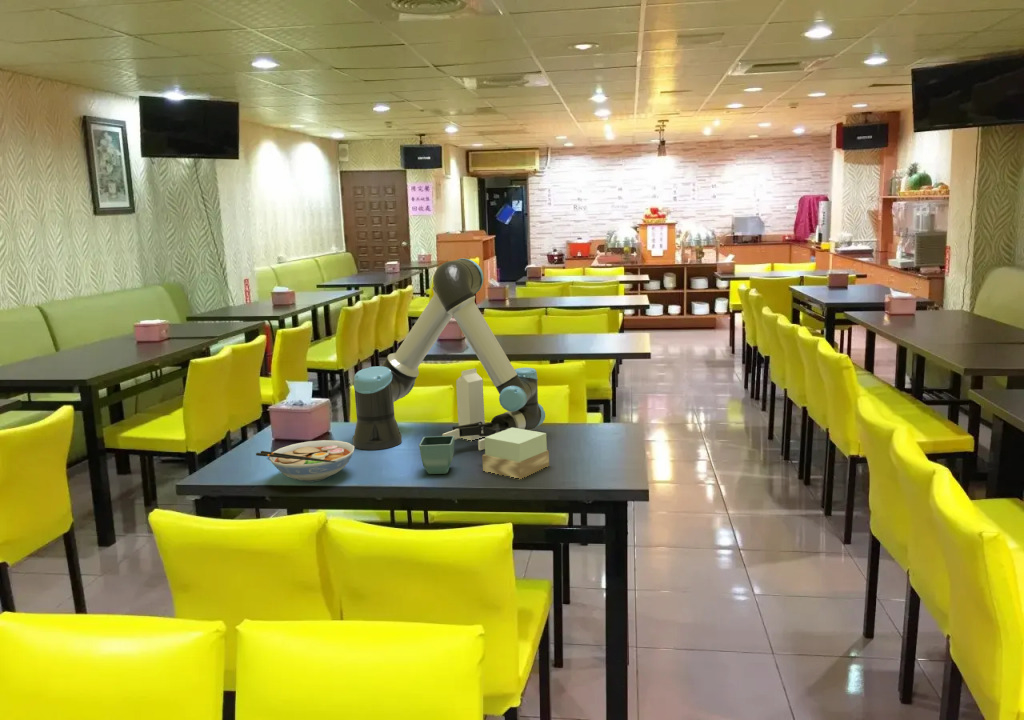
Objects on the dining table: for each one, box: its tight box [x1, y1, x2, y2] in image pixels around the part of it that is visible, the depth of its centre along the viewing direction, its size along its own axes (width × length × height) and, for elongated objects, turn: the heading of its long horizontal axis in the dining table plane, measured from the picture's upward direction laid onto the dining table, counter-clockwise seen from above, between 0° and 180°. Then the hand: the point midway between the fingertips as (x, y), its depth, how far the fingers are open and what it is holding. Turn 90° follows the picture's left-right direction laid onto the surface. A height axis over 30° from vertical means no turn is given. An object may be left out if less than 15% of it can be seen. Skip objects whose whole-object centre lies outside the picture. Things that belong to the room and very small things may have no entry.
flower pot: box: [418, 435, 455, 475], centre depth 213 cm, size 9×9×9 cm
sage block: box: [484, 427, 548, 462], centre depth 212 cm, size 12×12×5 cm
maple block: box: [481, 449, 550, 480], centre depth 214 cm, size 13×13×5 cm
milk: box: [455, 368, 486, 442], centre depth 244 cm, size 6×6×22 cm
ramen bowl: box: [255, 439, 355, 483], centre depth 213 cm, size 25×23×8 cm
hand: (460, 442), depth 220 cm, fingers open, 13 cm apart
